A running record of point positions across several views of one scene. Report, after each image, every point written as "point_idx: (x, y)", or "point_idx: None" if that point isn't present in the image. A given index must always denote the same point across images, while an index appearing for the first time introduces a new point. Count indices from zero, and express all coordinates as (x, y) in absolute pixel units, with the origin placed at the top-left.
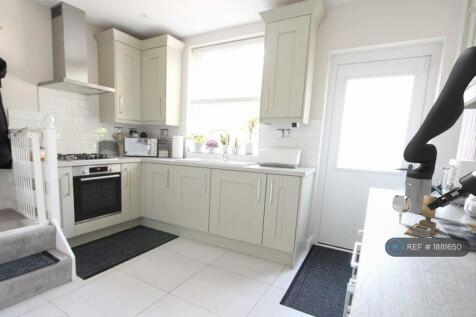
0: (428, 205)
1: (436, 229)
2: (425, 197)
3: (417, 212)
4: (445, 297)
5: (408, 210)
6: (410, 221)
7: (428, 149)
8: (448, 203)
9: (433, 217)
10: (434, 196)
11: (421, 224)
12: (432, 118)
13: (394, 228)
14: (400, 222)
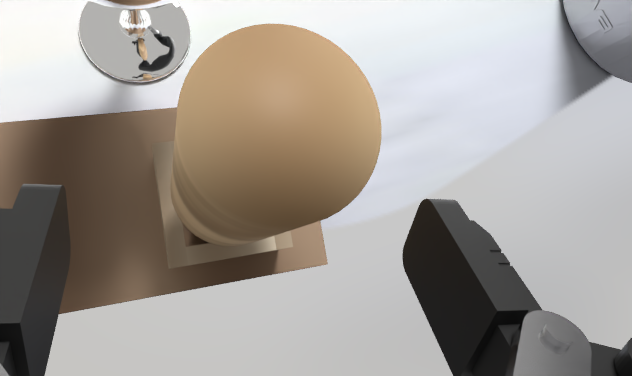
0: (20, 202)
1: (272, 256)
2: (187, 76)
3: (601, 16)
4: None
5: (97, 4)
6: (404, 38)
7: None
8: (443, 337)
9: (208, 241)
10: (364, 166)
11: (155, 169)
12: None
13: (44, 18)
14: (134, 15)
